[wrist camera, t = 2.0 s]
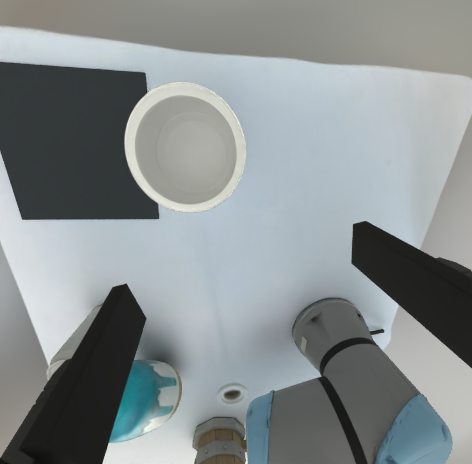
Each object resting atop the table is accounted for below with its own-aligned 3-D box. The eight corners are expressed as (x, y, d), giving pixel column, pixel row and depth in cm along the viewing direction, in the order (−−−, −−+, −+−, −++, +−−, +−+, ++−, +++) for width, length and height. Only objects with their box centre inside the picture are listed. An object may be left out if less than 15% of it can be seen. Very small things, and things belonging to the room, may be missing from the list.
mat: (145, 73, 28) (144, 72, 28) (159, 218, 35) (158, 219, 35) (-27, 60, 26) (-29, 59, 26) (23, 219, 32) (22, 219, 32)
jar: (160, 111, 30) (116, 72, 16) (233, 119, 31) (252, 90, 17) (163, 188, 33) (128, 211, 19) (228, 192, 35) (241, 216, 21)
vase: (139, 428, 42) (43, 462, 26) (146, 364, 48) (71, 362, 32) (189, 422, 40) (119, 456, 25) (190, 358, 46) (134, 352, 31)
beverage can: (119, 335, 41) (84, 399, 30) (86, 322, 40) (35, 385, 28) (133, 310, 40) (102, 368, 28) (100, 296, 38) (52, 351, 27)
